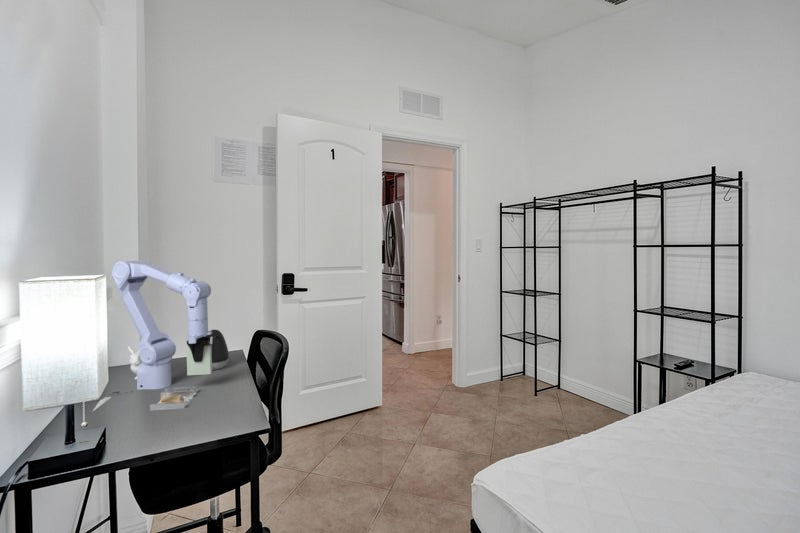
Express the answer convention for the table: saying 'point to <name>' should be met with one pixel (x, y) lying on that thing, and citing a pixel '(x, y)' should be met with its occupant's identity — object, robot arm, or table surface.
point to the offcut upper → (171, 398)
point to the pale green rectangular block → (202, 366)
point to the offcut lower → (173, 402)
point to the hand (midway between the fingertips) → (199, 360)
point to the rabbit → (134, 360)
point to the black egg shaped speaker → (218, 349)
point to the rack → (184, 391)
